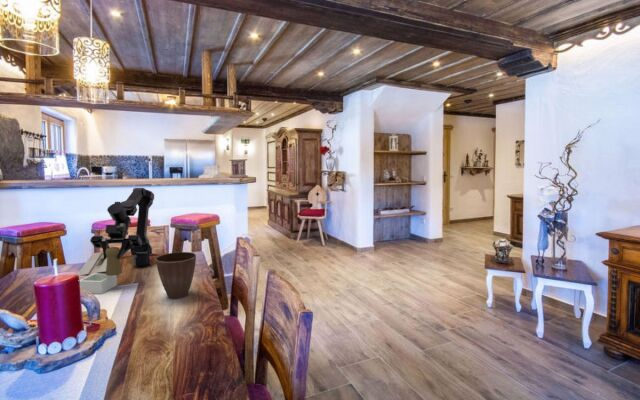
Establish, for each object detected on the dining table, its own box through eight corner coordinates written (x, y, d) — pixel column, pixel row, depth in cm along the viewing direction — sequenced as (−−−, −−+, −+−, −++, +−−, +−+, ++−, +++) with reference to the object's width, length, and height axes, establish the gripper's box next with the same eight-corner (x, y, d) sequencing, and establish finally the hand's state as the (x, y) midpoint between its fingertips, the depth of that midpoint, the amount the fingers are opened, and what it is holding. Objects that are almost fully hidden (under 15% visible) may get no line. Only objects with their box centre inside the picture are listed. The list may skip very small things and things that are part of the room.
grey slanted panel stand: (120, 279, 169) (128, 254, 179) (110, 270, 162) (119, 244, 172) (87, 284, 169) (97, 258, 179) (76, 275, 162) (87, 249, 173)
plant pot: (158, 305, 129) (156, 263, 127) (156, 292, 142) (154, 254, 141) (199, 298, 136) (198, 259, 134) (194, 286, 149) (193, 250, 147)
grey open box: (94, 284, 150) (94, 273, 150) (117, 285, 150) (116, 273, 150) (77, 293, 141) (77, 281, 140) (101, 293, 140) (101, 281, 140)
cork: (112, 270, 149) (111, 245, 147) (125, 271, 148) (124, 246, 147) (102, 275, 143) (100, 249, 141) (115, 275, 142) (114, 249, 141)
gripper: (90, 217, 145) (78, 249, 136) (138, 216, 148) (129, 248, 138) (100, 231, 154) (90, 263, 144) (145, 230, 157) (137, 261, 147)
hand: (111, 258), depth 143 cm, fingers closed on cork, 5 cm apart
